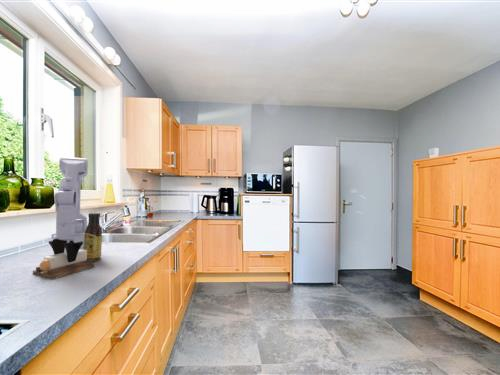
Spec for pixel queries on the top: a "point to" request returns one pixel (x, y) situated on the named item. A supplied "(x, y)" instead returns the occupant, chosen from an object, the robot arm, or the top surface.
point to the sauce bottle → (93, 237)
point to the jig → (64, 269)
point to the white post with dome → (61, 260)
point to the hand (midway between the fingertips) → (65, 260)
